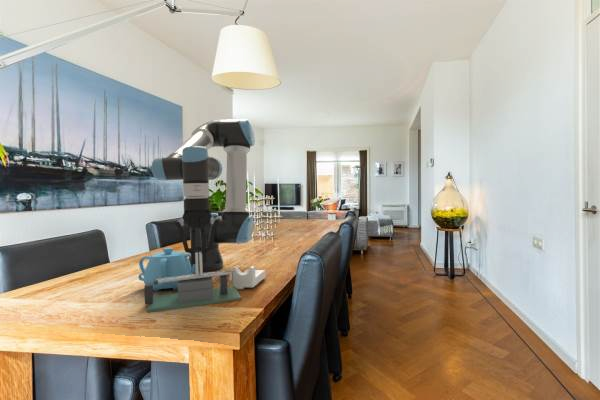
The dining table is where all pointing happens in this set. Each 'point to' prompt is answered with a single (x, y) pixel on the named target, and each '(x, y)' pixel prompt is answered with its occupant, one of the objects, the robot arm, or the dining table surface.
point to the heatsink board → (174, 300)
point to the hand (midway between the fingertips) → (199, 274)
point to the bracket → (247, 277)
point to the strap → (193, 276)
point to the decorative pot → (165, 268)
